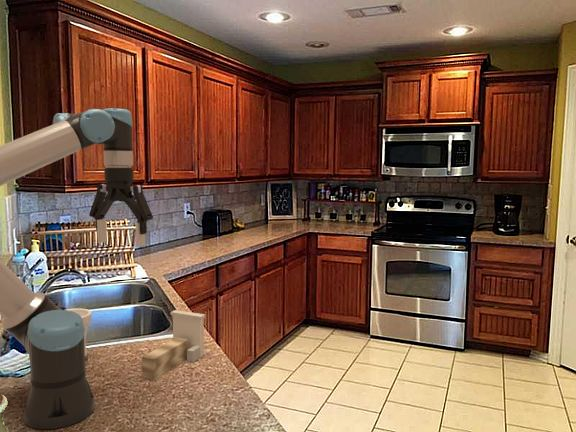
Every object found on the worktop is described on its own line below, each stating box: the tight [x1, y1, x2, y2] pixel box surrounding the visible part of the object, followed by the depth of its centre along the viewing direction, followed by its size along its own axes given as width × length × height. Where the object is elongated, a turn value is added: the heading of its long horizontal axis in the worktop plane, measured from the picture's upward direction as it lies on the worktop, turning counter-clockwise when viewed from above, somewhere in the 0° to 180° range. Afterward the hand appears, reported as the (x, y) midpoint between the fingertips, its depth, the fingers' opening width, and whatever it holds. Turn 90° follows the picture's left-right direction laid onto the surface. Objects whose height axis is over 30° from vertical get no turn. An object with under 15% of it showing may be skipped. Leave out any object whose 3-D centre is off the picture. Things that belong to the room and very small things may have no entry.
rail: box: [141, 338, 188, 381], centre depth 139 cm, size 16×4×6 cm, turn 156°
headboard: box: [170, 309, 206, 363], centre depth 147 cm, size 6×11×13 cm, turn 67°
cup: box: [66, 308, 92, 358], centre depth 144 cm, size 11×11×14 cm
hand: (121, 244), depth 133 cm, fingers open, 13 cm apart
